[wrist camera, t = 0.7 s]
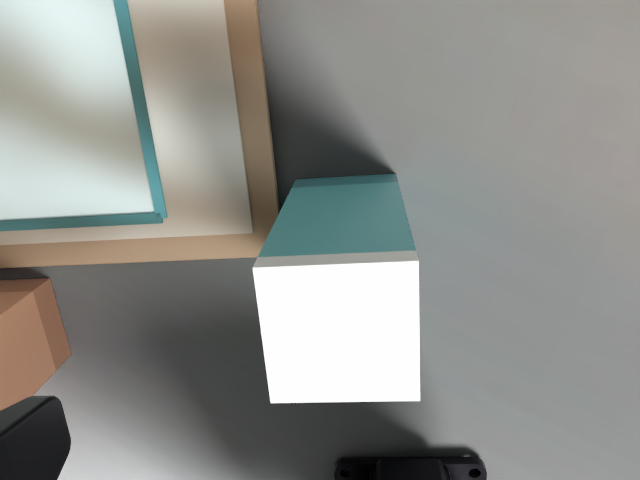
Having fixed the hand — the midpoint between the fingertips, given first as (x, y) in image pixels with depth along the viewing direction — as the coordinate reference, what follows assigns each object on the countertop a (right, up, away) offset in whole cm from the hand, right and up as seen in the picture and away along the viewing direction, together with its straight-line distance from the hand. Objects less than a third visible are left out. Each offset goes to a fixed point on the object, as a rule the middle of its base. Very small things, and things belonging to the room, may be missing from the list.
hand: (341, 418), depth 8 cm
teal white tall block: (+1, +3, +11) cm, 12 cm away
